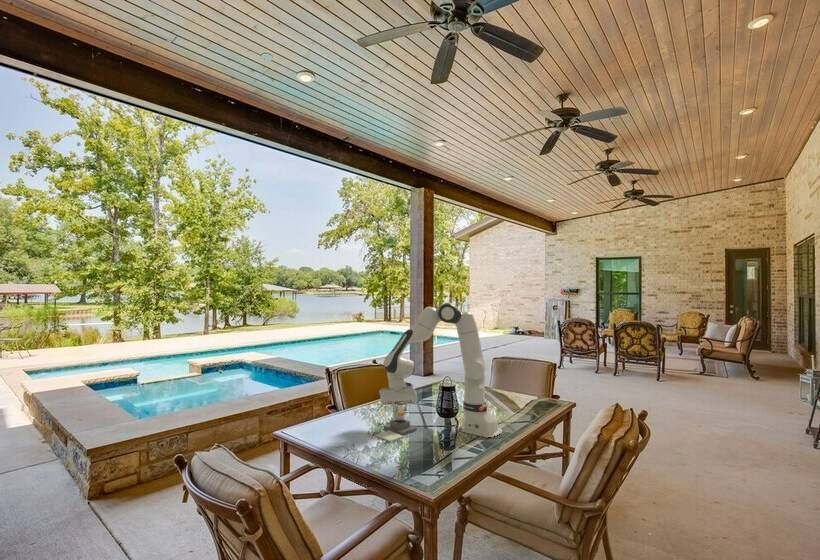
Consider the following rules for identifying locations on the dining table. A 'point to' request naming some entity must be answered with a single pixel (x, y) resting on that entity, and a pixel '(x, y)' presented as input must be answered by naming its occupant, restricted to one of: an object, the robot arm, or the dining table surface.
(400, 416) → the plug
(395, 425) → the socket
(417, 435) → the dining table surface
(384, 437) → the mat
